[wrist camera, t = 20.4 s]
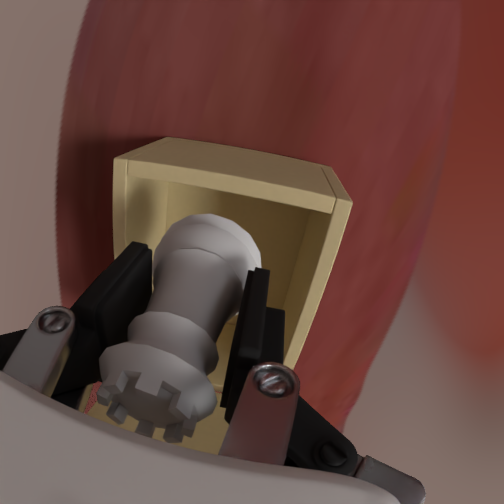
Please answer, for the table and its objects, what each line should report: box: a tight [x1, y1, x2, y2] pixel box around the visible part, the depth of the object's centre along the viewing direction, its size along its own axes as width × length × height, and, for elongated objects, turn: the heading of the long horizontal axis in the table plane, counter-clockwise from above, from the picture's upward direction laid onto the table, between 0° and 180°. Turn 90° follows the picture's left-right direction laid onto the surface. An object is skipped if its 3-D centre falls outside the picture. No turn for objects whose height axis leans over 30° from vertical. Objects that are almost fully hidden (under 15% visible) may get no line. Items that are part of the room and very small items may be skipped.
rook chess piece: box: [96, 214, 262, 443], centre depth 10 cm, size 4×4×8 cm
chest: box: [113, 137, 353, 392], centre depth 20 cm, size 15×11×7 cm
